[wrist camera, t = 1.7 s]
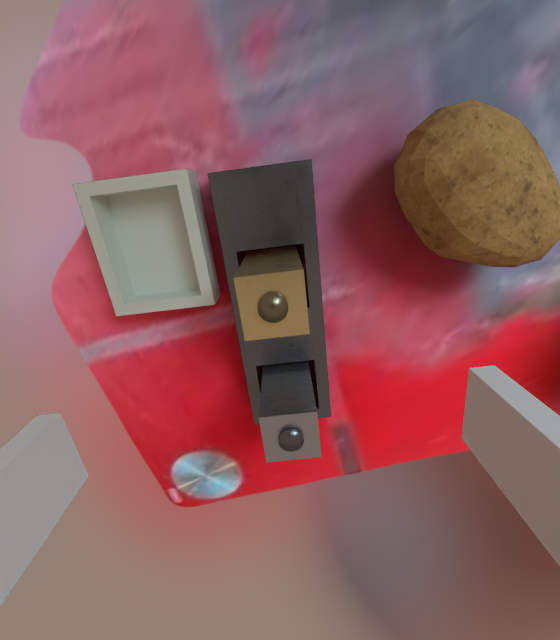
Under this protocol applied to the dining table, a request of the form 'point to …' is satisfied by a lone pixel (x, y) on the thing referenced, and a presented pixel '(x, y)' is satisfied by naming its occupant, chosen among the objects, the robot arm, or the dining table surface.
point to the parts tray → (151, 241)
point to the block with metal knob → (272, 294)
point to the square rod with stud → (288, 412)
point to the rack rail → (264, 232)
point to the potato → (478, 187)
